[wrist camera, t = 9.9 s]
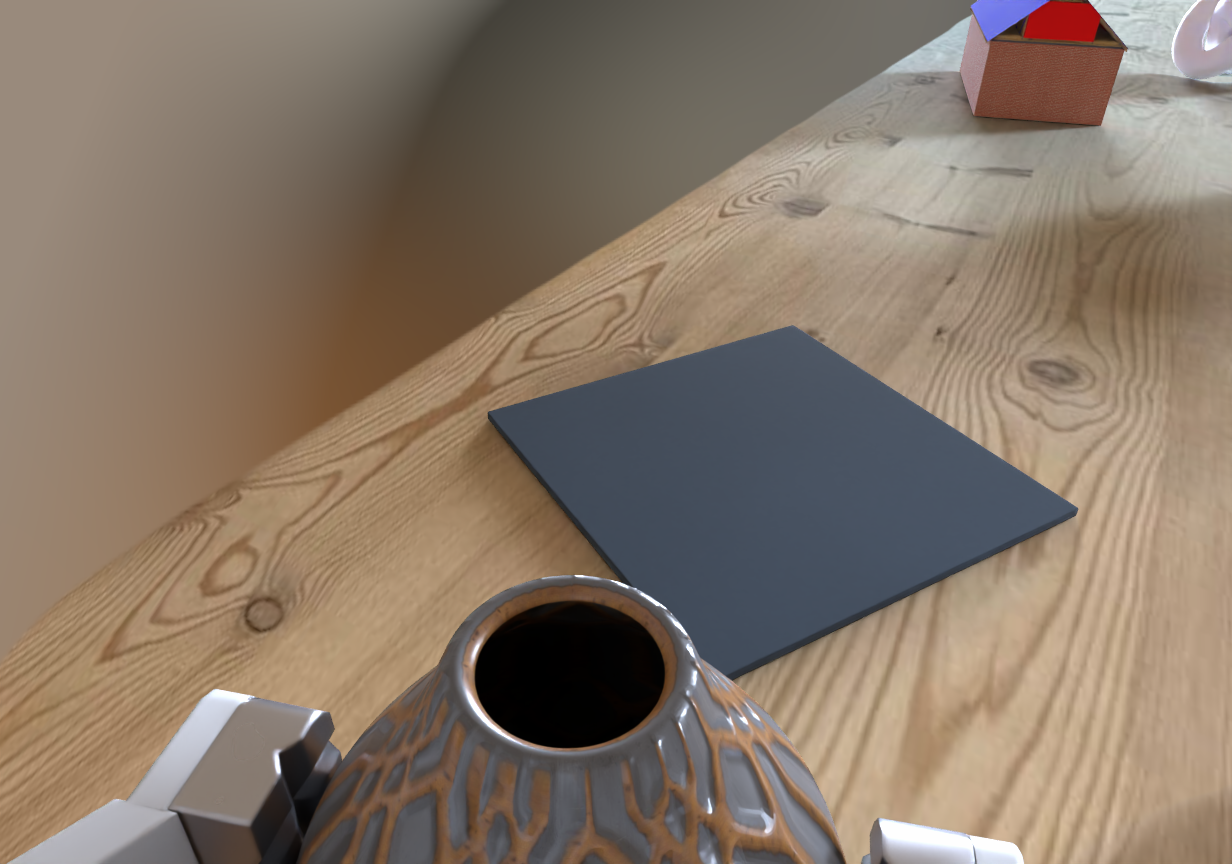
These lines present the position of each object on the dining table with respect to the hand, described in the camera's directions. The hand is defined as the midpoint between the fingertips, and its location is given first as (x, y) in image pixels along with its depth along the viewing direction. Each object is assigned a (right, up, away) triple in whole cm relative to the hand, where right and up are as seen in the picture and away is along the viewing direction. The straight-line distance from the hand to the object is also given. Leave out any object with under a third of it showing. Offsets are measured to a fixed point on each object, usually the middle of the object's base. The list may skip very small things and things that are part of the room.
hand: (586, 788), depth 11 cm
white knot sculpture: (+68, +43, +88) cm, 119 cm away
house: (+42, +39, +82) cm, 100 cm away
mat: (+7, +3, +28) cm, 29 cm away
